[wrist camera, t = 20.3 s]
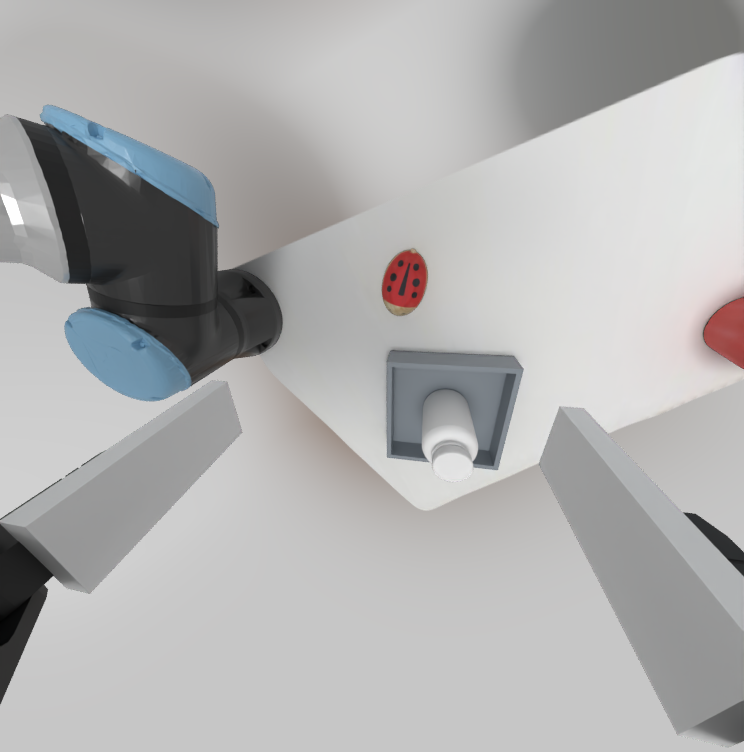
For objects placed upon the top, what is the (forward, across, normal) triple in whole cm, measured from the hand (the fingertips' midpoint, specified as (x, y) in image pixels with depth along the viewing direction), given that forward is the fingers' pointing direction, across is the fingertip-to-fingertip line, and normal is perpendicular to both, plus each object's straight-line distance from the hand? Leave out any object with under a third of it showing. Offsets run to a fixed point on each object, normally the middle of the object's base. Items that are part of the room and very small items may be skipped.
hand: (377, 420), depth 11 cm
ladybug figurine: (+35, -1, 0) cm, 35 cm away
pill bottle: (+33, +7, -20) cm, 40 cm away
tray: (+34, +7, -20) cm, 40 cm away
